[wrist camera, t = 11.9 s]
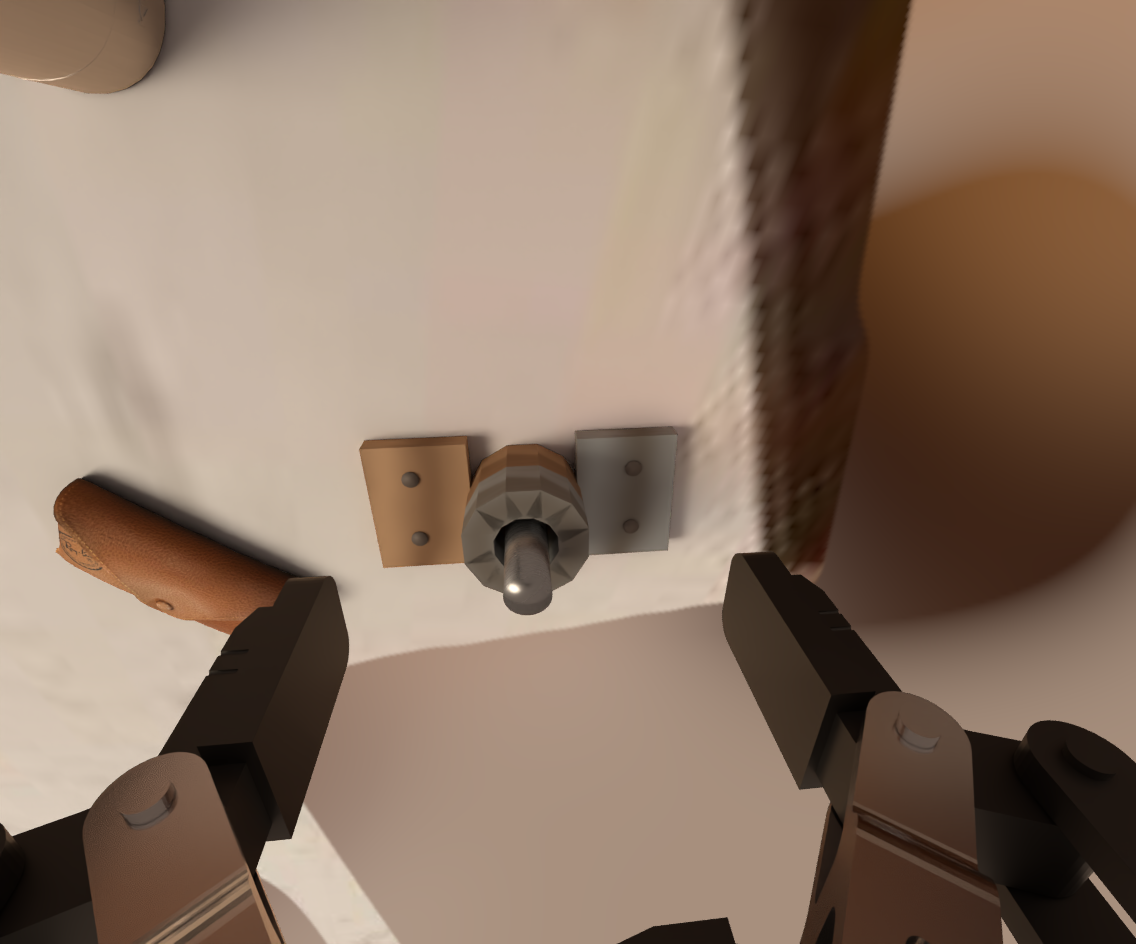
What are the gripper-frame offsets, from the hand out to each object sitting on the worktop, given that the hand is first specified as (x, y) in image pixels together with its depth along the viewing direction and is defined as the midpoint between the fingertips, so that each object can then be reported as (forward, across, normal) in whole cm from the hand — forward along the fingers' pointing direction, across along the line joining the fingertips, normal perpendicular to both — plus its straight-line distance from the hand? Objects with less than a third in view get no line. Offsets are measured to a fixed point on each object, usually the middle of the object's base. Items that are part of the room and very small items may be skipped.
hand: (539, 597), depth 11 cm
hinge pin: (+28, 0, +14) cm, 31 cm away
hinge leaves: (+28, 0, +14) cm, 31 cm away
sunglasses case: (+29, +26, +19) cm, 43 cm away
